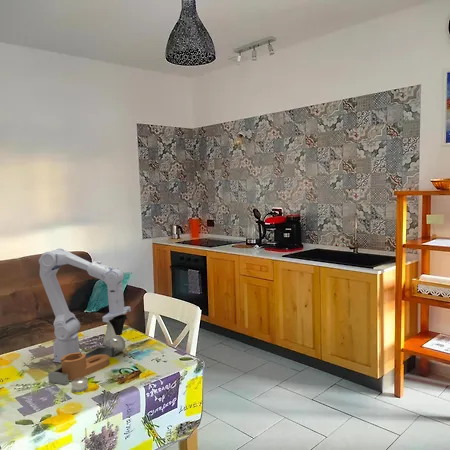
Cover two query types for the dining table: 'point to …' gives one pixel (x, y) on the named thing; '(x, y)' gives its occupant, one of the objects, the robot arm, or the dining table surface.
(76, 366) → the bracket
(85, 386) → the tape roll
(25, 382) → the dining table surface
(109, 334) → the flask
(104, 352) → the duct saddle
